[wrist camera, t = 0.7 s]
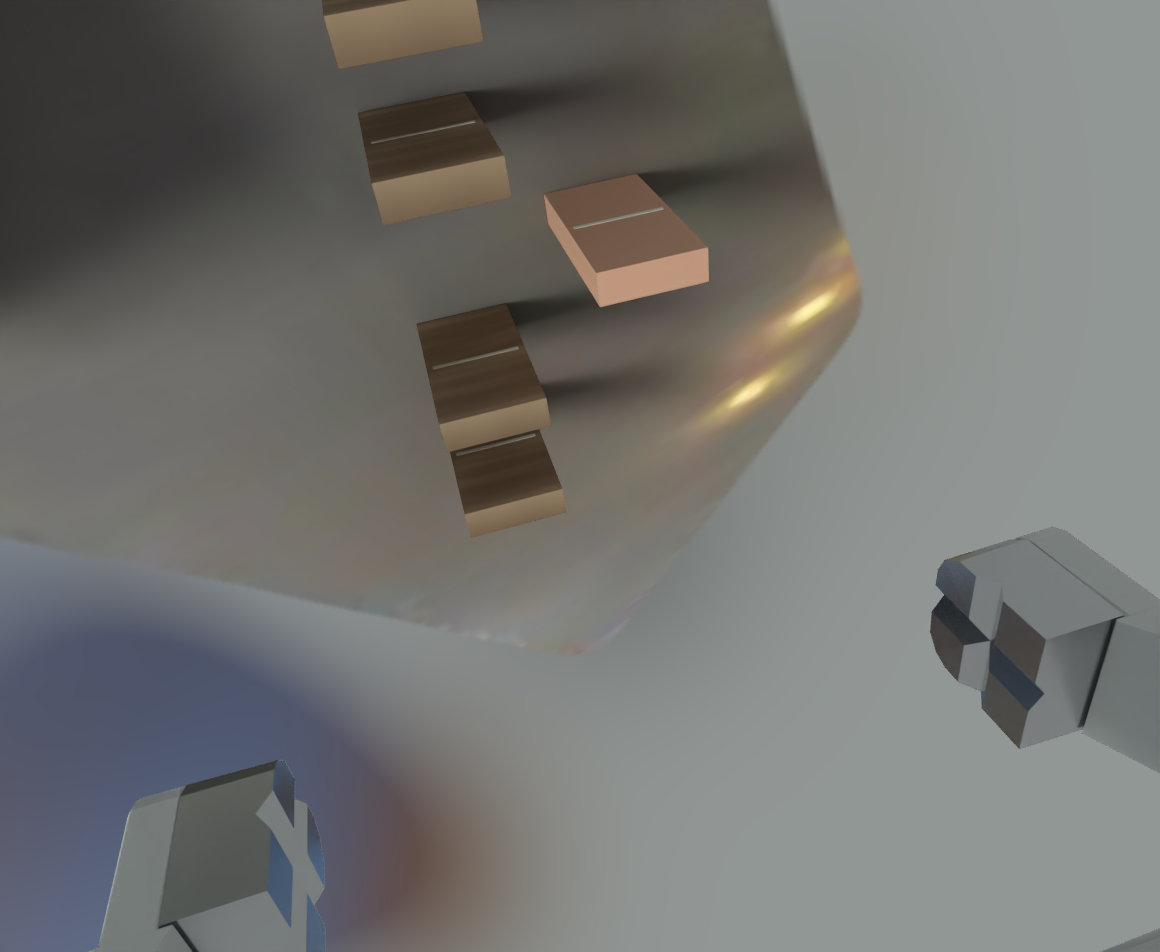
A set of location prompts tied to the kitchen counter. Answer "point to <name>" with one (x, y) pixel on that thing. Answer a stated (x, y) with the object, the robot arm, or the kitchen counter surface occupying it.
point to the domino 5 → (625, 240)
